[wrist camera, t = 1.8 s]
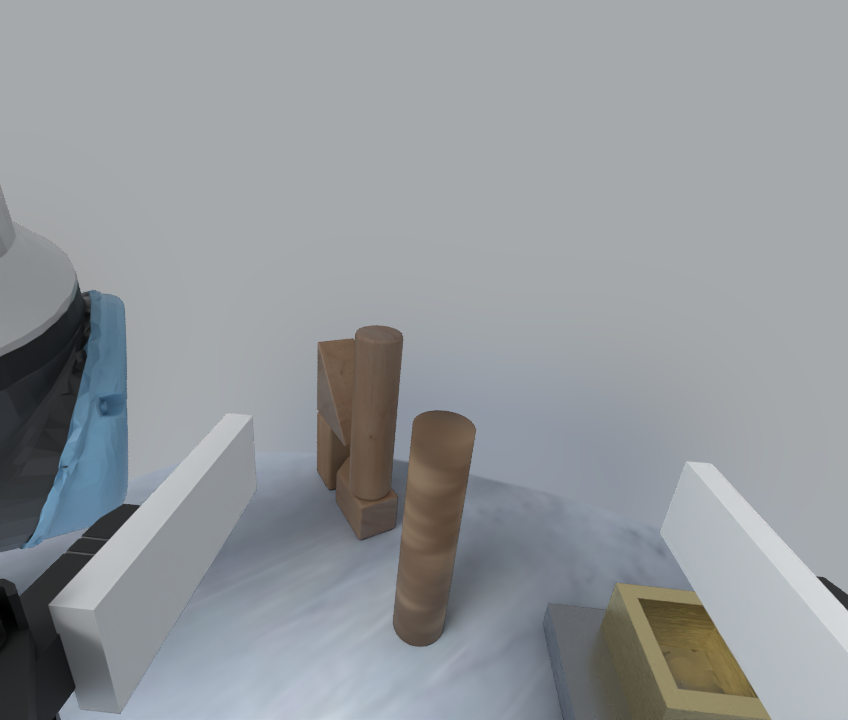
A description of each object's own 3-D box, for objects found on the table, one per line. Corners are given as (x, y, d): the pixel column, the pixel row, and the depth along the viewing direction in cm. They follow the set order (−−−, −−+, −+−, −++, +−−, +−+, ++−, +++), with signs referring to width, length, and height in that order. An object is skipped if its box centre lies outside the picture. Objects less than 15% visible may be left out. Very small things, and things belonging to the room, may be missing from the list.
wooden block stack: (348, 462, 48) (355, 298, 41) (396, 529, 40) (414, 338, 33) (315, 471, 46) (315, 300, 39) (358, 543, 38) (368, 343, 31)
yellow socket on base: (580, 799, 23) (609, 730, 21) (542, 623, 33) (560, 561, 30) (850, 831, 23) (909, 764, 21) (736, 644, 33) (768, 584, 30)
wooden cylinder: (390, 643, 30) (410, 439, 24) (395, 596, 34) (415, 407, 27) (443, 649, 30) (477, 447, 24) (443, 602, 34) (474, 413, 27)
